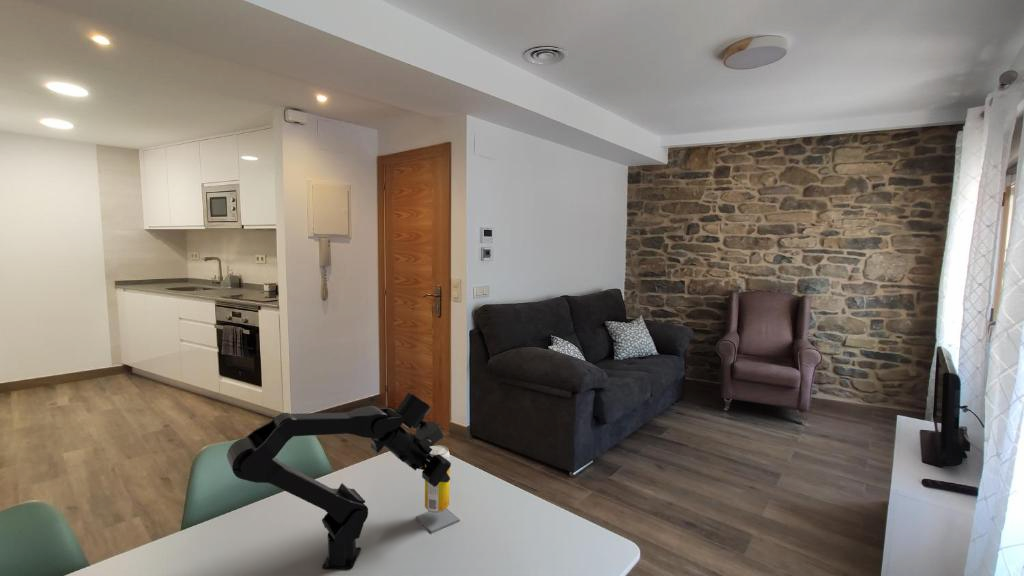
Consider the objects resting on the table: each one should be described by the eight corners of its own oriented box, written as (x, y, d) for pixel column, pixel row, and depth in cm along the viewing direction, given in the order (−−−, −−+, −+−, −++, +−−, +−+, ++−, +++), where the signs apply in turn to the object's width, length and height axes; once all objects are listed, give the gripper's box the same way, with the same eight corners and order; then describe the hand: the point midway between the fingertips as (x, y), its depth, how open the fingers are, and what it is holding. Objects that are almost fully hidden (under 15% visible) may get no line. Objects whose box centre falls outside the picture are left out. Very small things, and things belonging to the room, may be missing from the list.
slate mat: (431, 533, 112) (431, 531, 112) (415, 518, 118) (415, 516, 118) (459, 521, 117) (459, 519, 117) (443, 507, 123) (443, 505, 123)
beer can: (451, 501, 120) (452, 445, 118) (446, 515, 114) (446, 456, 112) (428, 500, 120) (428, 444, 119) (421, 513, 114) (422, 454, 113)
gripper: (443, 426, 105) (482, 460, 113) (405, 404, 120) (442, 435, 127) (412, 470, 101) (454, 502, 109) (376, 441, 115) (416, 471, 123)
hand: (442, 475), depth 117 cm, fingers closed on beer can, 6 cm apart
